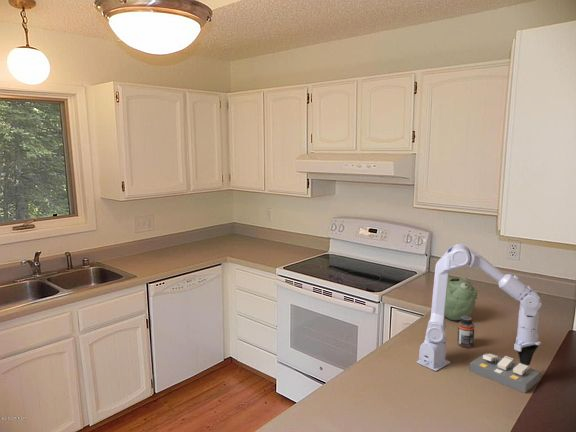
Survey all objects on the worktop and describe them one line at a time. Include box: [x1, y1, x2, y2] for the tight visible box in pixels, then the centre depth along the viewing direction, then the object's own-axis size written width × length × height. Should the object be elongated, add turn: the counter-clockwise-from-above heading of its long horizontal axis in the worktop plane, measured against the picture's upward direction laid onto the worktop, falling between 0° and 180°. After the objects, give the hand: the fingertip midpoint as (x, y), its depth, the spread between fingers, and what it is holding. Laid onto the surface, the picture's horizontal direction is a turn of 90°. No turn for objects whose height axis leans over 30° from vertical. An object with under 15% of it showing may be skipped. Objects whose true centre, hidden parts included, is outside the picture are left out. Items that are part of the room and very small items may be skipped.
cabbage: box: [444, 276, 478, 321], centre depth 189 cm, size 16×19×20 cm
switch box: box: [469, 351, 542, 394], centre depth 141 cm, size 12×18×5 cm, turn 39°
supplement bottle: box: [457, 315, 475, 349], centre depth 163 cm, size 6×6×11 cm
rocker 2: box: [497, 355, 515, 370], centre depth 141 cm, size 6×3×1 cm, turn 129°
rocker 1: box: [482, 353, 500, 361], centre depth 145 cm, size 6×3×1 cm, turn 130°
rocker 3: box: [513, 362, 531, 375], centre depth 137 cm, size 6×3×1 cm, turn 129°
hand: (524, 364), depth 139 cm, fingers closed, pressing on rocker 3
